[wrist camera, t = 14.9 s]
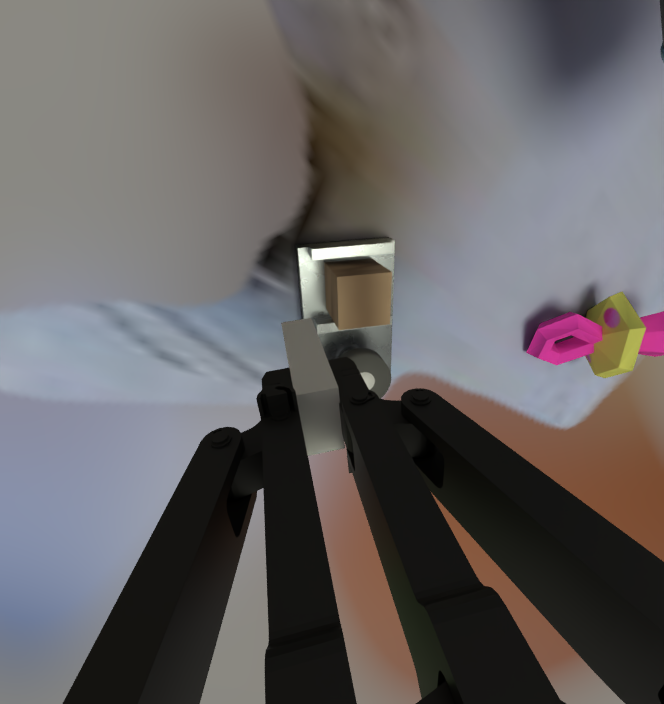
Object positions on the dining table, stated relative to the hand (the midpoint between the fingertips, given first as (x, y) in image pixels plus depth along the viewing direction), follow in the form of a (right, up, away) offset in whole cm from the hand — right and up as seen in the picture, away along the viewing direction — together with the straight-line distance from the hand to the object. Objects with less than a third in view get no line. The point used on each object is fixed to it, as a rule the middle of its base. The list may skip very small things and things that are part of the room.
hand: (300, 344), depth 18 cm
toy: (+35, +3, +31) cm, 47 cm away
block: (+3, +7, +20) cm, 21 cm away
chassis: (+3, +4, +23) cm, 24 cm away
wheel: (+4, -2, +22) cm, 22 cm away
